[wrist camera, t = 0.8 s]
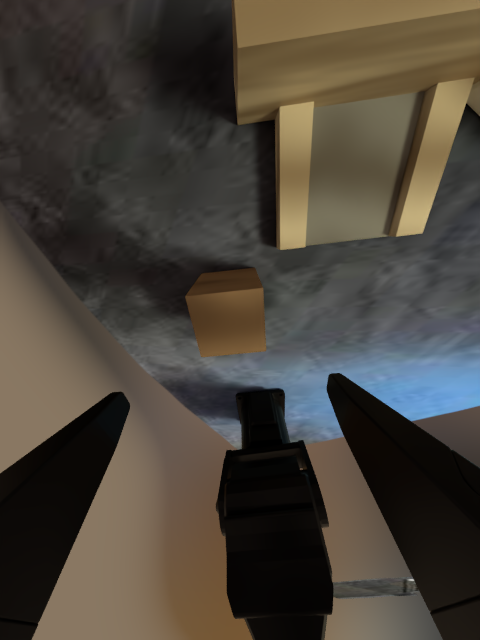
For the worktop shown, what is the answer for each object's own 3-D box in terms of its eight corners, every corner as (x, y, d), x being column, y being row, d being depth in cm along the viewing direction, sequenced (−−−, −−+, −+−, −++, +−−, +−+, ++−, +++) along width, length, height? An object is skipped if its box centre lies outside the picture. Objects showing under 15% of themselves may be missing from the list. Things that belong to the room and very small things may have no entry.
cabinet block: (258, 321, 19) (266, 358, 14) (212, 325, 19) (203, 364, 14) (254, 267, 17) (262, 288, 11) (201, 273, 17) (185, 296, 12)
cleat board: (437, 228, 15) (543, 231, 10) (248, 251, 16) (253, 264, 11) (507, 37, 10) (784, -154, 5) (234, 80, 11) (230, -51, 6)
